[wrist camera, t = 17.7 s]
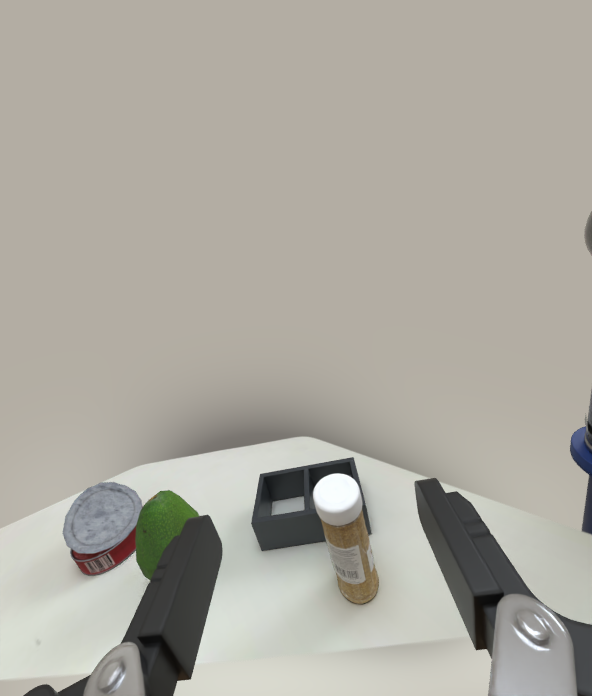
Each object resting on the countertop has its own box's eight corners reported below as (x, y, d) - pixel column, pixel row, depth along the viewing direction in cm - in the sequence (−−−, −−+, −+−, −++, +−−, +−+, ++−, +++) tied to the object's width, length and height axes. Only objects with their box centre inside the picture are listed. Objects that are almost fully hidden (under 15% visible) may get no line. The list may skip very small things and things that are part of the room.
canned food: (148, 529, 50) (156, 475, 50) (141, 578, 41) (151, 512, 40) (70, 538, 46) (79, 479, 45) (43, 594, 36) (53, 521, 36)
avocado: (221, 534, 40) (192, 469, 37) (207, 597, 33) (169, 524, 29) (168, 545, 41) (134, 483, 37) (143, 611, 33) (97, 540, 29)
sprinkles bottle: (386, 575, 31) (368, 482, 27) (365, 617, 28) (341, 520, 24) (351, 551, 34) (330, 465, 30) (329, 586, 31) (302, 496, 27)
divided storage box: (358, 482, 43) (353, 457, 42) (371, 534, 35) (365, 504, 34) (268, 498, 45) (260, 473, 43) (261, 551, 37) (251, 523, 35)
